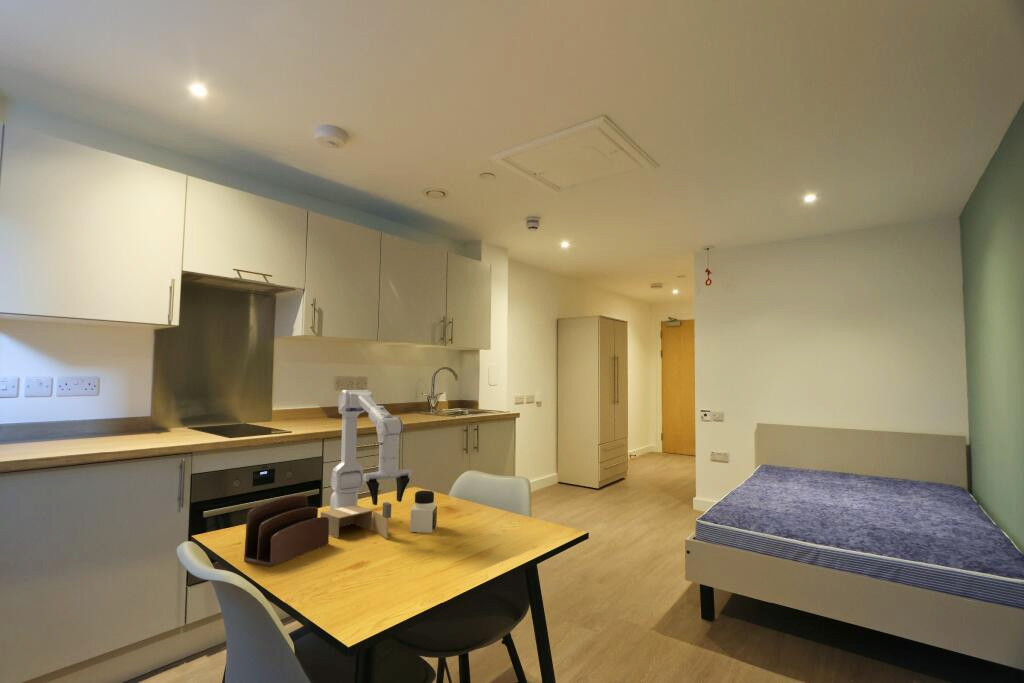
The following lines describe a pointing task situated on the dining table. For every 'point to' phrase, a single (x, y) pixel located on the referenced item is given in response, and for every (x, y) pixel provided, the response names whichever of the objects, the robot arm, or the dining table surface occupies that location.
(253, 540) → the letter holder
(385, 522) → the side flap
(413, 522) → the medicine bottle
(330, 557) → the dining table surface
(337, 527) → the carton
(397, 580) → the dining table surface
